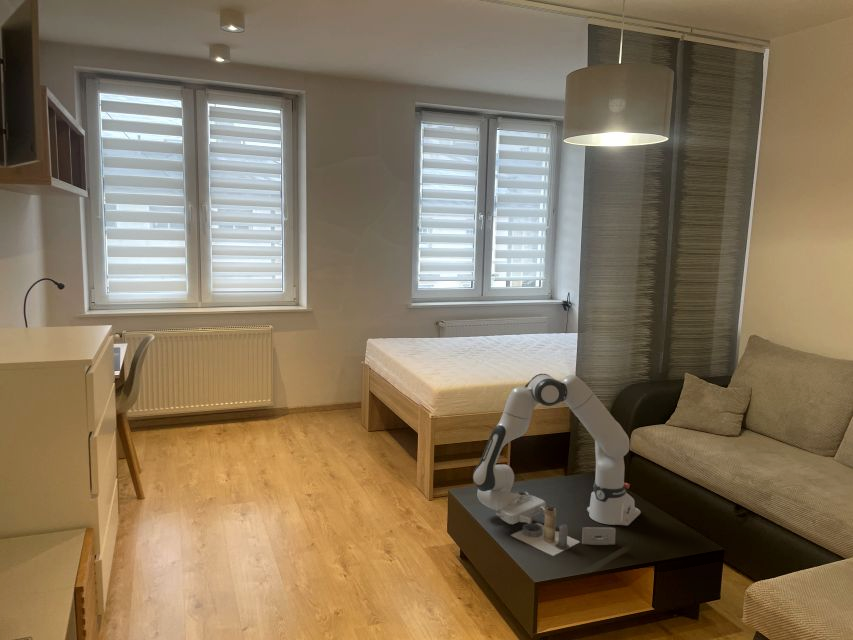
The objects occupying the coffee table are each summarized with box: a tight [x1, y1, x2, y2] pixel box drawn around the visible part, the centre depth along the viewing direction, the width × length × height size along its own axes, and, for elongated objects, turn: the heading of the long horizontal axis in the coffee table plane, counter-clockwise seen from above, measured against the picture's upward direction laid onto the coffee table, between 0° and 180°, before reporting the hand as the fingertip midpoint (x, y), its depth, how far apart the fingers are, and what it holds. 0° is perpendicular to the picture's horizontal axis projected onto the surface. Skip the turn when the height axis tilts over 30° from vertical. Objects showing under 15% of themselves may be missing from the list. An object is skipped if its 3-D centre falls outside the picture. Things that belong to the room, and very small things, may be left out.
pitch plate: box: [510, 522, 581, 557], centre depth 239 cm, size 16×20×10 cm
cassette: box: [581, 526, 617, 546], centre depth 236 cm, size 12×2×8 cm, turn 90°
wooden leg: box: [543, 505, 557, 543], centre depth 237 cm, size 4×4×13 cm
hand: (539, 517), depth 241 cm, fingers open, 8 cm apart
